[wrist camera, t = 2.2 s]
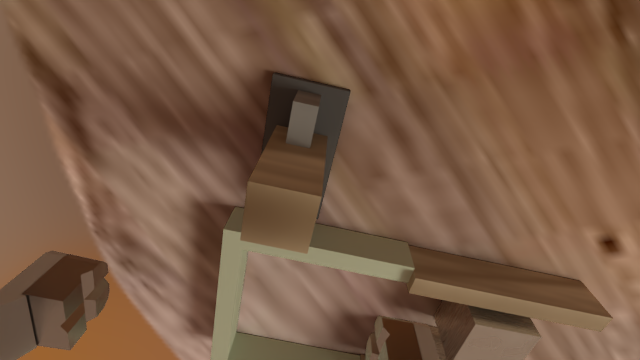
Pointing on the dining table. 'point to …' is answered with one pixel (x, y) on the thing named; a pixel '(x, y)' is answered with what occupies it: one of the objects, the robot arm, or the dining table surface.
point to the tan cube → (484, 333)
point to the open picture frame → (325, 249)
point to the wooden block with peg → (287, 182)
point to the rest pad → (327, 116)
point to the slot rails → (504, 289)
